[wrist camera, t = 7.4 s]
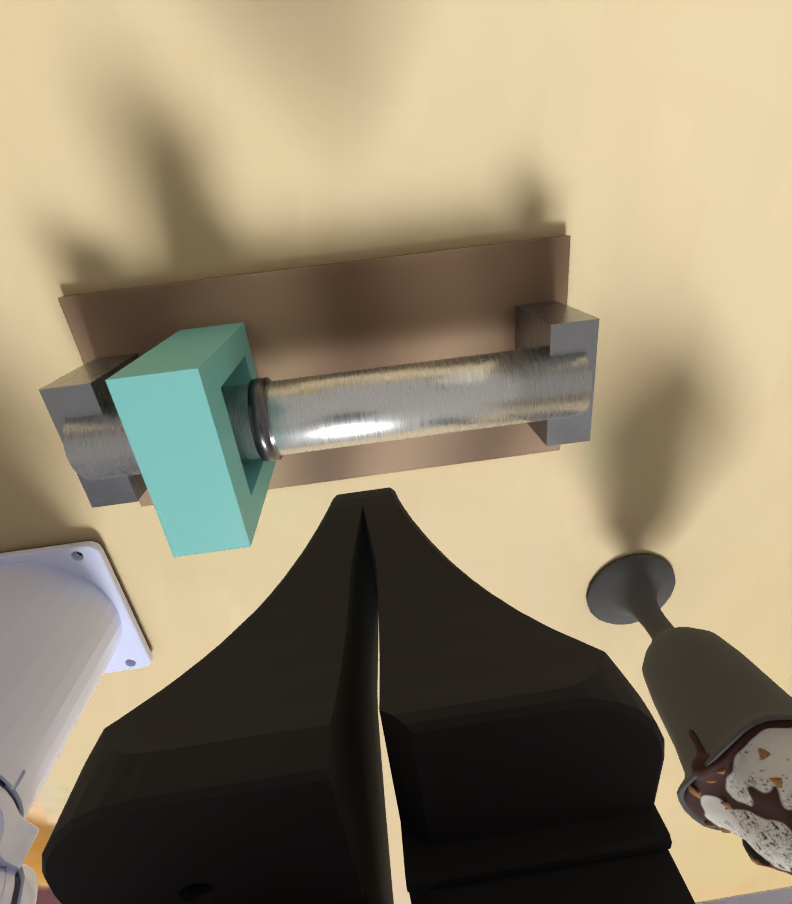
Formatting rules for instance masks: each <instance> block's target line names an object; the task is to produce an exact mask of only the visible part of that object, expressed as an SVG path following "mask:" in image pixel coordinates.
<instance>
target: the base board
mask: <svg viewBox="0 0 792 904" xmlns="http://www.w3.org/2000/svg"><path fill="white" fill-rule="evenodd" d="M569 254H570V236H567V235H565V236H557V237H549V238H540V239H532V240H524V241H516V242H508V243H499V244H491V245H483V246H475V247H466V248H458V249H450V250H442V251H433V252H425V253H417V254H409V255H401V256H392V257H384V258H376V259H368V260H359V261H351V262H343V263H335V264H326V265H318V266H310V267H302V268H294V269H285V270H277V271H269V272H261V273H252V274H244V275H236V276H228V277H219V278H211V279H203V280H195V281H187V282H178V283H170V284H162V285H154V286H145V287H137V288H129V289H121V290H112V291H104V292H96V293H88V294H80V295H71V296H63V297H60V298H58V300H59V303H60V305H61V308H62V310H63V313H64V315H65V318H66V320H67V323H68V325H69V328H70V330H71V333H72V335H73V338H74V340H75V343H76V345H77V348H78V350H79V353H80V355H81V358H82V360H83V363H84V364H86V363H88V362H90V361H91V360H93V359H95V358H101V357H109V356H117V355H125V354H133V353H138V356H139V357H140V356H142V355H143V354H145V353H146V352H148V351H149V350H151V349H152V348H154V347H155V346H157V345H158V344H160V343H161V342H163V341H164V340H166V339H167V338H169V337H170V336H172V335H173V334H175V333H176V332H178V331H179V330H185V329H193V328H201V327H209V326H217V325H225V324H233V323H241V322H244V324H245V329H246V333H247V337H248V341H249V345H250V349H251V353H252V357H253V362H254V366H255V370H256V374H257V378H264V377H269V378H270V379H271V381H276V380H283V379H291V378H299V377H307V376H315V375H322V374H330V373H338V372H346V371H353V370H361V369H369V368H377V367H385V366H392V365H400V364H408V363H416V362H424V361H431V360H439V359H447V358H455V357H462V356H470V355H478V354H486V353H494V352H501V351H509V350H515V305H523V304H531V303H539V302H547V301H557V302H560V303H562V304H565V305H567V295H568V274H569ZM556 450H560V445H552V446H546V445H545V444H544V443H543V441H542V440H541V439H540V438H539V437H538V436H537V434H536V433H535V432H534V431H533V430H532V429H531V427H530V426H529V425H528V424H527V423H520V424H513V425H505V426H498V427H490V428H483V429H475V430H468V431H460V432H453V433H445V434H438V435H430V436H423V437H415V438H407V439H400V440H392V441H385V442H377V443H370V444H362V445H355V446H347V447H340V448H332V449H325V450H317V451H310V452H302V453H295V454H287V455H283V457H282V459H281V460H276V463H275V467H274V470H273V473H272V477H271V480H270V483H269V487H268V489H275V488H282V487H290V486H297V485H305V484H312V483H319V482H327V481H334V480H342V479H349V478H356V477H364V476H371V475H379V474H386V473H393V472H401V471H408V470H416V469H423V468H430V467H438V466H445V465H452V464H460V463H467V462H475V461H482V460H489V459H497V458H504V457H512V456H519V455H526V454H534V453H541V452H549V451H556ZM139 502H140V505H141V507H142V506H149V505H153V502H152V500H151V497H150V494H149V492H148V489H147V490H146V491H145V492H144V494H143V495H142V496H141V498H140V499H139Z"/></svg>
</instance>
